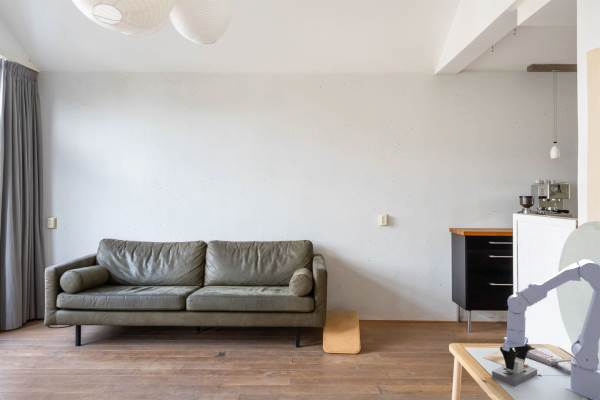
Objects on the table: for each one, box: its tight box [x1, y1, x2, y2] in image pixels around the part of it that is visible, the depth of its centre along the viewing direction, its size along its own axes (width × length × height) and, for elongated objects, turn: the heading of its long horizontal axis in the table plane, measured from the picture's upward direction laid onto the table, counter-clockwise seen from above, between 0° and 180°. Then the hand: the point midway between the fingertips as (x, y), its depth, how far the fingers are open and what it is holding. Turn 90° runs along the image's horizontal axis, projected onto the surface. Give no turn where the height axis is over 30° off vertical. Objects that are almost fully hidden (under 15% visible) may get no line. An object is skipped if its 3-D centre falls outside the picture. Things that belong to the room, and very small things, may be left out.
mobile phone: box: [513, 346, 574, 367], centre depth 152 cm, size 6×6×25 cm
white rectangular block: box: [506, 357, 525, 375], centre depth 137 cm, size 4×4×6 cm
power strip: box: [491, 362, 538, 387], centre depth 137 cm, size 16×8×4 cm, turn 124°
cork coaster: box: [483, 351, 506, 366], centre depth 151 cm, size 10×10×1 cm
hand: (515, 366), depth 137 cm, fingers open, 7 cm apart
